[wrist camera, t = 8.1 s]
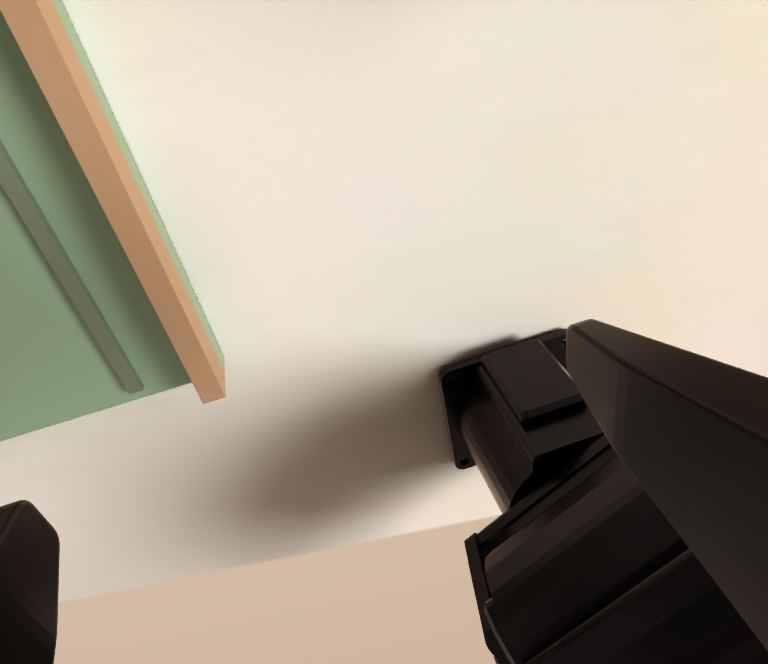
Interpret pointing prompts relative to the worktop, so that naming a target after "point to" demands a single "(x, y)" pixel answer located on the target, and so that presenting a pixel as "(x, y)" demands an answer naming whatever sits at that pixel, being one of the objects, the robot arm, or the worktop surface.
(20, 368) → the pitch
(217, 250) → the worktop surface
